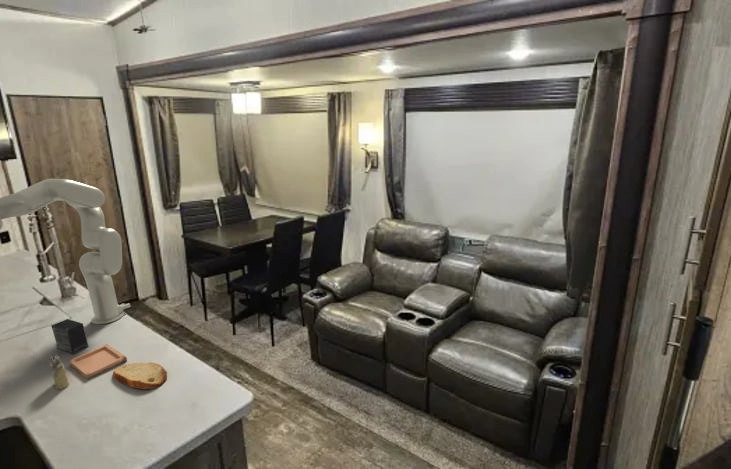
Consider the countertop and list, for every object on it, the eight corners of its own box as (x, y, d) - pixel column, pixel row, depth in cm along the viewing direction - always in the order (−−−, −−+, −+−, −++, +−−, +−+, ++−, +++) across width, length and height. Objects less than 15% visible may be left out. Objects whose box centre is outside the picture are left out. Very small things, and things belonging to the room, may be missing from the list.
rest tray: (107, 347, 156) (106, 343, 155) (127, 360, 147) (126, 356, 146) (69, 364, 146) (68, 360, 145) (87, 379, 137) (86, 375, 136)
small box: (90, 346, 158) (83, 322, 155) (72, 354, 152) (66, 330, 149) (74, 340, 162) (67, 317, 159) (56, 349, 156) (49, 325, 153)
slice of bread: (114, 371, 141) (111, 362, 140) (169, 358, 148) (167, 350, 147) (104, 403, 125) (101, 393, 124) (166, 387, 132) (164, 377, 131)
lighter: (70, 386, 134) (62, 360, 131) (56, 391, 131) (48, 365, 128) (66, 377, 138) (58, 352, 136) (52, 382, 136) (45, 357, 133)
